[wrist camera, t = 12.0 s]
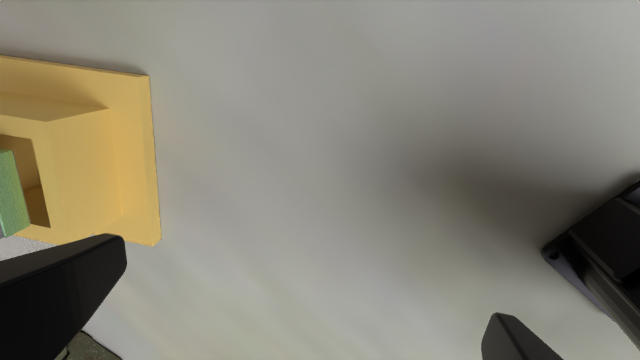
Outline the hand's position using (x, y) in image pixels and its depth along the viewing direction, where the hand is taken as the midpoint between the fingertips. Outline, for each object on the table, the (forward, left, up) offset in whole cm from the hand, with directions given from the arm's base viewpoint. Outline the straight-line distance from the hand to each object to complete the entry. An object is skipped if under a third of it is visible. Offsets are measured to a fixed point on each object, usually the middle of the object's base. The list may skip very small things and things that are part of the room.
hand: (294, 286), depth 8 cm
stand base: (+13, +12, -12) cm, 21 cm away
